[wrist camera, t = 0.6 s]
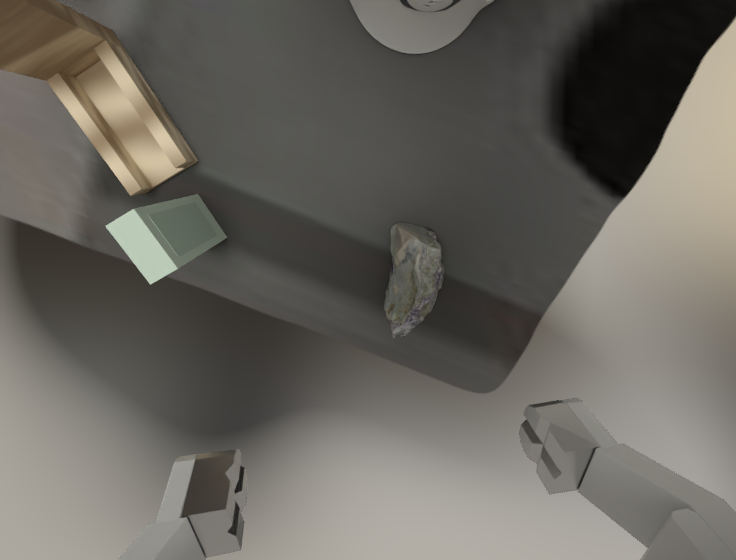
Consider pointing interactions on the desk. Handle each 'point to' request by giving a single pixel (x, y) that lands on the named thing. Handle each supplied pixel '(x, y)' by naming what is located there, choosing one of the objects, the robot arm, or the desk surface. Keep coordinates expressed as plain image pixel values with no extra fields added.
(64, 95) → the track
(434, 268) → the mineral rock
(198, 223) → the mint green rectangular block
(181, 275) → the desk surface
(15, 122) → the desk surface
